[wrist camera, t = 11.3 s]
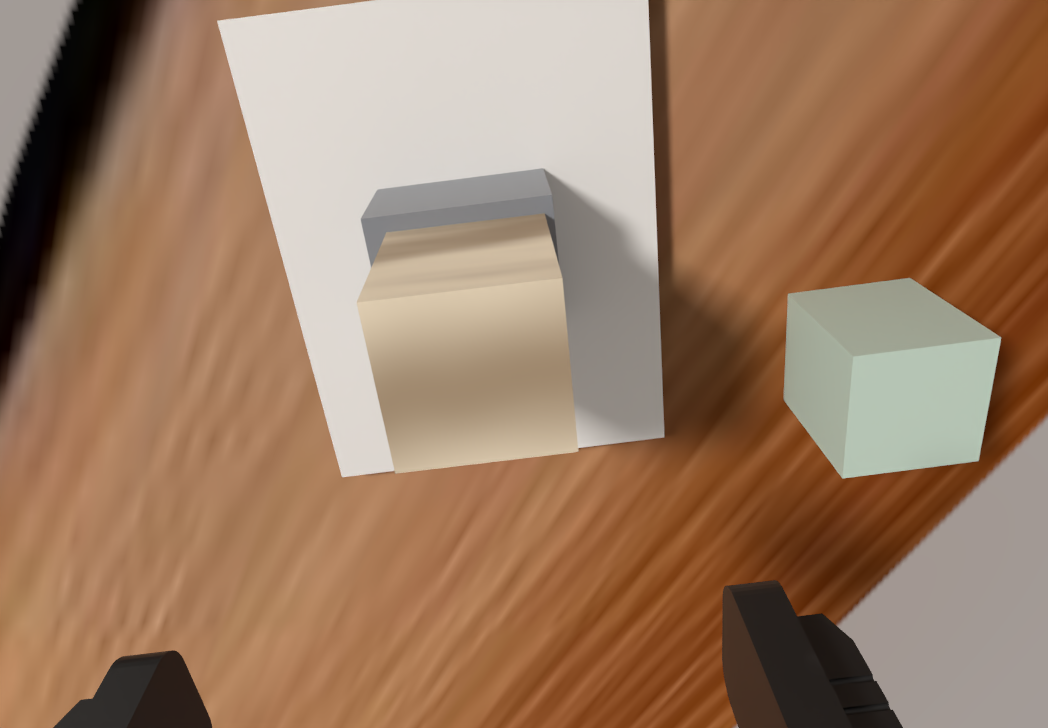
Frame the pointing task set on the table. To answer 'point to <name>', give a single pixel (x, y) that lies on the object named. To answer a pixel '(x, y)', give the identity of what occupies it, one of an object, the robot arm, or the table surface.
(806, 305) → the sage block
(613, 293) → the build plate
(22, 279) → the table surface
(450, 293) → the birch block
